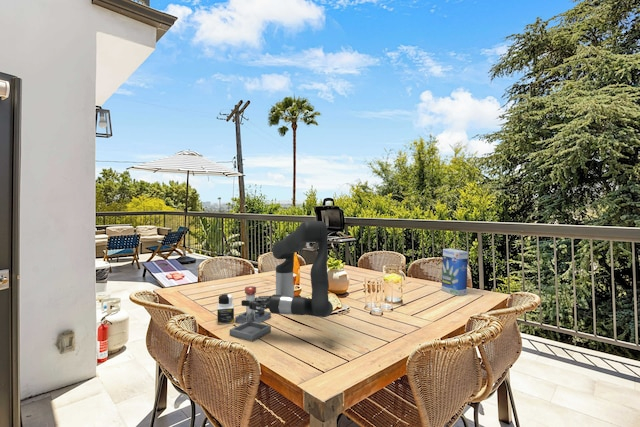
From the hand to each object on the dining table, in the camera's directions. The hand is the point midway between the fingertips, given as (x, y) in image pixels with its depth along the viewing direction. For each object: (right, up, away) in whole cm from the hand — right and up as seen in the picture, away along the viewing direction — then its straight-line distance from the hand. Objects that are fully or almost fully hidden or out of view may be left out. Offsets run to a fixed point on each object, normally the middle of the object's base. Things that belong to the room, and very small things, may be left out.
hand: (244, 301), depth 145 cm
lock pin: (+3, -8, 0) cm, 8 cm away
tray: (+3, -13, 0) cm, 14 cm away
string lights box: (+112, -11, +65) cm, 130 cm away
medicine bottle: (-12, -13, +14) cm, 23 cm away
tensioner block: (+1, -13, +16) cm, 20 cm away
